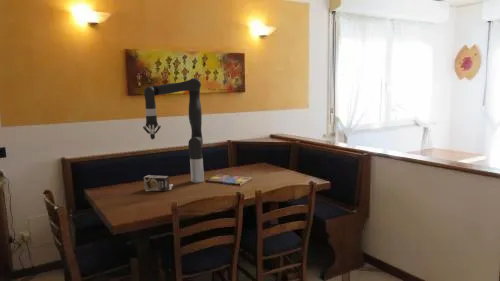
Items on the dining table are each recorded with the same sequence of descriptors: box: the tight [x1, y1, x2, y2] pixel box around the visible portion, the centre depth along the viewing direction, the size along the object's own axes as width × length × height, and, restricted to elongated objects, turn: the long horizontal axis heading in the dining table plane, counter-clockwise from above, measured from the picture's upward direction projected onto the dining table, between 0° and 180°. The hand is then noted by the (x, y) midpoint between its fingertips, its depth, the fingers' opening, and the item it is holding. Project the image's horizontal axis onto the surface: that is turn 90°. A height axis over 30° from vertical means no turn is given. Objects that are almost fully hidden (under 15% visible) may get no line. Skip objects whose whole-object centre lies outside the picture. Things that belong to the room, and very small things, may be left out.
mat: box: [145, 183, 174, 192], centre depth 274 cm, size 17×13×1 cm
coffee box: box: [143, 174, 170, 192], centre depth 267 cm, size 9×6×16 cm
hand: (152, 139), depth 279 cm, fingers closed
